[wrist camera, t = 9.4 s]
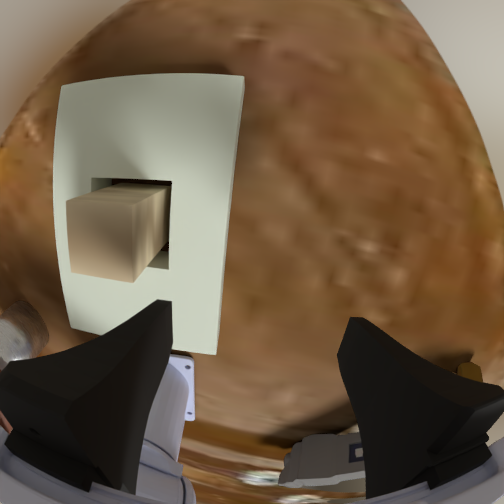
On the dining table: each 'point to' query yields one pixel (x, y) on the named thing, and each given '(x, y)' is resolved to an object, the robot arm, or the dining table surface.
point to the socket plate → (153, 168)
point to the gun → (336, 453)
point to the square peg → (117, 229)
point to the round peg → (21, 333)
